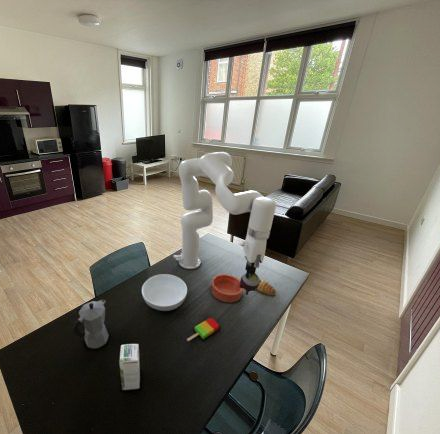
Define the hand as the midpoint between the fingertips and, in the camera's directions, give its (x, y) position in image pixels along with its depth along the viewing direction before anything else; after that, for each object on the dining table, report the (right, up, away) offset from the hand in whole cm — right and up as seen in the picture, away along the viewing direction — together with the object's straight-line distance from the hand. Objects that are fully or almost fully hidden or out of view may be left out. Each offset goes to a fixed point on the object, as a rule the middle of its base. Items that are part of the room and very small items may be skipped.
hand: (250, 271), depth 95 cm
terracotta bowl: (-3, -15, +22) cm, 27 cm away
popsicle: (-19, -25, +2) cm, 31 cm away
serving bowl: (-34, -18, +18) cm, 42 cm away
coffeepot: (-61, -27, -1) cm, 67 cm away
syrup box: (-45, -33, -15) cm, 58 cm away
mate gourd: (0, -8, +5) cm, 9 cm away
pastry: (+16, -14, +24) cm, 32 cm away
